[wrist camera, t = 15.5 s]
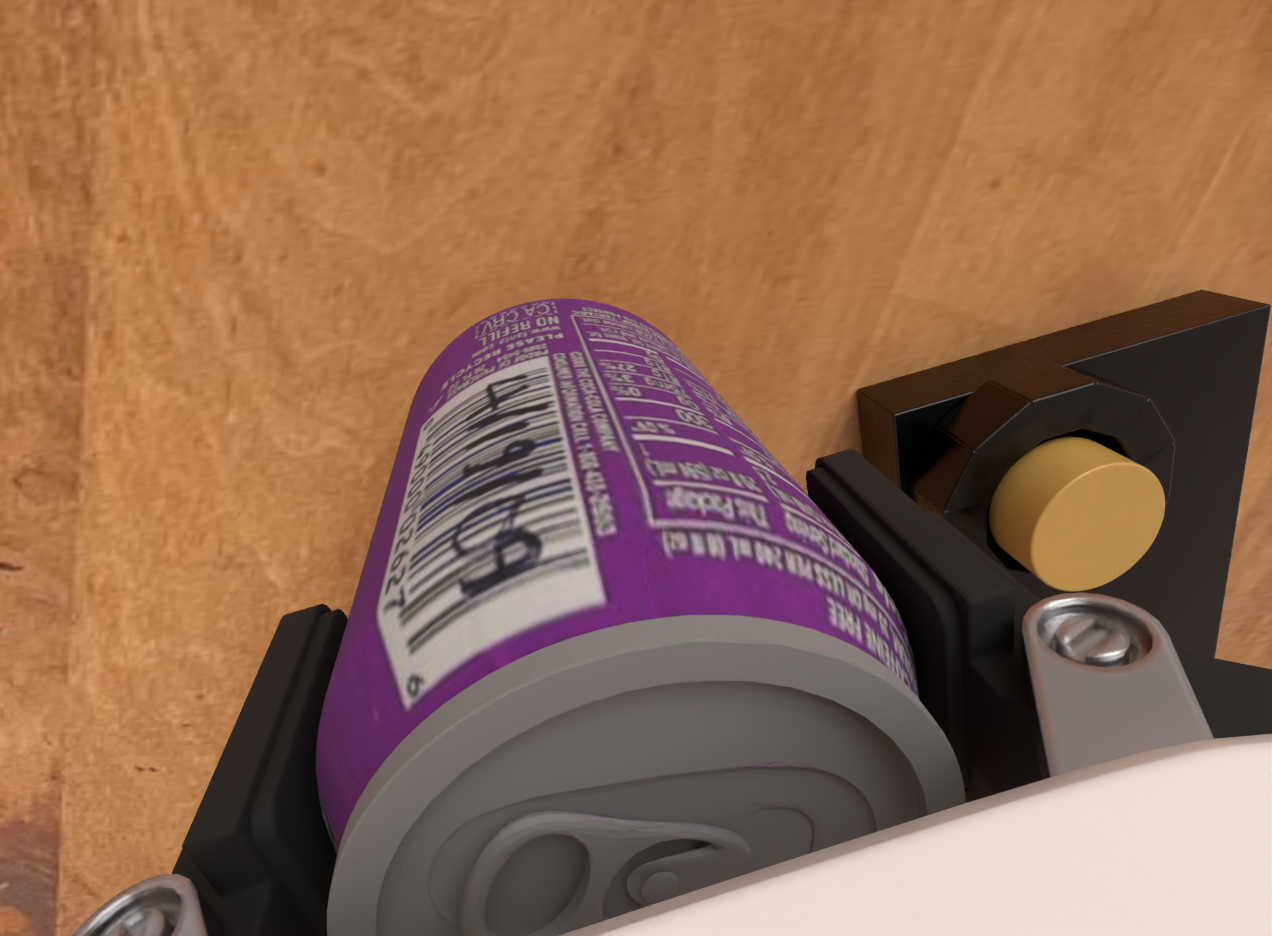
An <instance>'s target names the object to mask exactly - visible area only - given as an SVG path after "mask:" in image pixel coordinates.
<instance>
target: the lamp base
mask: <svg viewBox="0 0 1272 936" xmlns="http://www.w3.org/2000/svg"><path fill="white" fill-rule="evenodd" d="M1270 308H1271V305H1269V304H1265V303H1260V302H1256V301H1251V300H1246V299H1242V298H1237V297H1233V296H1228V295H1223V294H1219V293H1214V292H1210V291H1205V290H1200V291H1196V292H1193V293H1189V294H1186V295H1183V296H1179V297H1176V298H1172V299H1169V300H1165V301H1162V302H1158V303H1155V304H1151V305H1148V306H1144V307H1141V308H1138V309H1134V310H1131V311H1127V312H1124V313H1120V314H1117V315H1113V316H1110V317H1106V318H1103V319H1099V320H1096V321H1093V322H1089V323H1086V324H1082V325H1079V326H1075V327H1072V328H1068V329H1065V330H1061V331H1058V332H1054V333H1051V334H1047V335H1044V336H1041V337H1037V338H1034V339H1030V340H1027V341H1023V342H1020V343H1016V344H1013V345H1009V346H1006V347H1002V348H999V349H996V350H992V351H989V352H985V353H982V354H978V355H975V356H971V357H968V358H964V359H961V360H957V361H954V362H951V363H947V364H944V365H940V366H937V367H933V368H930V369H926V370H923V371H919V372H916V373H912V374H909V375H906V376H902V377H899V378H895V379H892V380H888V381H885V382H881V383H878V384H874V385H871V386H867V387H864V388H861V389H858V390H857V394H858V404H859V414H860V424H861V434H862V444H863V454H864V458H865V459H866V460H867V461H868V462H869V463H870V464H872V465H873V466H874V467H875V468H876V469H877V470H879V471H880V472H881V473H882V474H883V475H884V476H885V477H887V478H888V479H889V480H890V481H891V482H892V483H894V484H895V485H896V486H897V487H898V488H899V489H900V490H902V491H903V492H904V493H905V494H906V495H907V496H909V497H910V498H911V499H912V500H913V501H914V502H915V503H917V504H918V505H919V506H920V507H921V508H922V509H924V510H925V511H926V512H927V511H934V512H936V513H937V514H939V515H941V516H942V517H943V518H944V519H945V520H947V521H948V522H949V523H950V524H951V525H953V526H954V527H955V528H956V529H957V530H958V531H960V532H961V533H962V534H963V535H964V536H966V537H967V538H968V539H969V540H970V541H971V542H973V543H974V544H975V545H976V546H977V547H979V548H980V549H981V550H982V551H983V552H984V553H986V554H987V555H988V556H989V557H990V558H992V559H993V560H994V561H995V562H996V563H997V564H999V565H1000V566H1001V567H1002V568H1003V569H1005V570H1006V571H1007V572H1008V573H1009V574H1010V575H1012V576H1013V577H1014V578H1015V579H1016V580H1017V581H1019V582H1020V583H1021V584H1022V585H1023V586H1025V587H1026V588H1027V589H1028V590H1029V591H1030V592H1032V593H1033V594H1034V595H1035V596H1036V597H1038V598H1039V599H1040V600H1042V599H1045V598H1048V597H1052V596H1055V595H1059V594H1067V593H1080V592H1081V593H1092V594H1102V595H1106V596H1110V597H1114V598H1118V599H1122V600H1125V601H1127V602H1129V603H1131V604H1133V605H1136V606H1138V607H1140V608H1142V609H1144V610H1145V611H1147V612H1148V613H1149V614H1151V615H1152V616H1153V617H1155V618H1156V619H1157V620H1159V622H1160V623H1161V625H1162V626H1163V627H1164V629H1165V630H1166V632H1167V633H1168V635H1169V637H1170V639H1171V642H1172V644H1173V646H1174V648H1175V651H1178V652H1183V653H1188V654H1194V655H1199V656H1204V657H1209V658H1215V652H1216V646H1217V639H1218V633H1219V627H1220V621H1221V614H1222V608H1223V602H1224V596H1225V589H1226V583H1227V577H1228V571H1229V564H1230V558H1231V552H1232V546H1233V539H1234V533H1235V527H1236V521H1237V514H1238V508H1239V502H1240V496H1241V489H1242V483H1243V477H1244V471H1245V464H1246V458H1247V452H1248V446H1249V439H1250V433H1251V427H1252V421H1253V414H1254V408H1255V402H1256V396H1257V389H1258V383H1259V377H1260V371H1261V364H1262V358H1263V352H1264V346H1265V339H1266V333H1267V327H1268V321H1269V314H1270ZM1062 437H1082V438H1087V439H1089V440H1092V441H1094V442H1096V443H1098V444H1100V445H1102V446H1104V447H1106V448H1108V449H1110V450H1112V451H1114V452H1116V453H1118V454H1120V455H1122V456H1124V457H1126V458H1128V459H1130V460H1132V461H1134V462H1136V463H1138V464H1140V465H1142V466H1143V467H1145V468H1147V469H1149V470H1150V471H1151V472H1152V473H1153V474H1154V475H1155V476H1156V477H1157V479H1158V480H1159V482H1160V484H1161V486H1162V488H1163V491H1164V496H1165V512H1164V517H1163V521H1162V524H1161V527H1160V529H1159V532H1158V534H1157V536H1156V538H1155V539H1154V541H1153V543H1152V544H1151V546H1150V547H1149V549H1148V550H1147V551H1146V552H1145V554H1144V555H1143V556H1142V557H1141V558H1140V559H1139V560H1138V561H1137V562H1136V563H1135V564H1134V565H1133V566H1132V567H1131V568H1130V569H1129V570H1127V571H1126V572H1125V573H1123V574H1122V575H1120V576H1119V577H1117V578H1116V579H1114V580H1112V581H1110V582H1108V583H1106V584H1104V585H1102V586H1099V587H1096V588H1093V589H1089V590H1084V591H1063V590H1059V589H1055V588H1053V587H1051V586H1048V585H1047V584H1045V583H1044V582H1043V581H1041V580H1040V579H1039V578H1038V577H1036V576H1035V575H1034V574H1033V573H1031V572H1030V571H1029V570H1028V569H1026V568H1025V567H1024V566H1023V565H1022V564H1020V563H1019V562H1018V561H1017V560H1015V559H1014V558H1013V557H1012V556H1010V555H1009V554H1008V553H1007V552H1005V551H1004V550H1003V549H1002V548H1001V547H1000V546H999V545H998V544H997V542H996V541H995V539H994V537H993V535H992V533H991V529H990V525H989V509H990V504H991V500H992V497H993V495H994V494H995V492H996V490H997V488H998V486H999V484H1000V482H1001V480H1002V478H1003V476H1004V475H1005V473H1006V472H1007V471H1008V469H1009V468H1010V467H1011V466H1012V465H1014V464H1015V463H1016V462H1017V461H1018V460H1019V459H1021V458H1022V457H1023V456H1024V455H1025V454H1027V453H1028V452H1029V451H1030V450H1031V449H1033V448H1035V447H1036V446H1038V445H1040V444H1042V443H1045V442H1047V441H1050V440H1053V439H1057V438H1062Z"/></svg>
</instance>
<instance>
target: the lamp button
mask: <svg viewBox="0 0 1272 936" xmlns="http://www.w3.org/2000/svg"><path fill="white" fill-rule="evenodd" d="M1164 512H1165V496H1164V491H1163V488H1162V486H1161V484H1160V482H1159V480H1158V479H1157V477H1156V476H1155V475H1154V474H1153V473H1152V472H1151V471H1150V470H1149V469H1147V468H1145V467H1143V466H1142V465H1140V464H1138V463H1136V462H1134V461H1132V460H1130V459H1128V458H1126V457H1124V456H1122V455H1120V454H1118V453H1116V452H1114V451H1112V450H1110V449H1108V448H1106V447H1104V446H1102V445H1100V444H1098V443H1096V442H1094V441H1092V440H1089V439H1087V438H1082V437H1062V438H1057V439H1053V440H1050V441H1047V442H1045V443H1042V444H1040V445H1038V446H1036V447H1035V448H1033V449H1031V450H1030V451H1029V452H1028V453H1027V454H1025V455H1024V456H1023V457H1022V458H1021V459H1019V460H1018V461H1017V462H1016V463H1015V464H1014V465H1012V466H1011V467H1010V468H1009V469H1008V471H1007V472H1006V473H1005V475H1004V476H1003V478H1002V480H1001V482H1000V484H999V486H998V488H997V490H996V492H995V494H994V495H993V497H992V500H991V504H990V509H989V525H990V529H991V533H992V535H993V537H994V539H995V541H996V542H997V544H998V545H999V546H1000V547H1001V548H1002V549H1003V550H1004V551H1005V552H1007V553H1008V554H1009V555H1010V556H1012V557H1013V558H1014V559H1015V560H1017V561H1018V562H1019V563H1020V564H1022V565H1023V566H1024V567H1025V568H1026V569H1028V570H1029V571H1030V572H1031V573H1033V574H1034V575H1035V576H1036V577H1038V578H1039V579H1040V580H1041V581H1043V582H1044V583H1045V584H1047V585H1048V586H1051V587H1053V588H1055V589H1059V590H1063V591H1084V590H1089V589H1093V588H1096V587H1099V586H1102V585H1104V584H1106V583H1108V582H1110V581H1112V580H1114V579H1116V578H1117V577H1119V576H1120V575H1122V574H1123V573H1125V572H1126V571H1127V570H1129V569H1130V568H1131V567H1132V566H1133V565H1134V564H1135V563H1136V562H1137V561H1138V560H1139V559H1140V558H1141V557H1142V556H1143V555H1144V554H1145V552H1146V551H1147V550H1148V549H1149V547H1150V546H1151V544H1152V543H1153V541H1154V539H1155V538H1156V536H1157V534H1158V532H1159V529H1160V527H1161V524H1162V521H1163V517H1164Z"/></svg>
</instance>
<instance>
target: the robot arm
mask: <svg viewBox="0 0 1272 936" xmlns="http://www.w3.org/2000/svg"><path fill="white" fill-rule="evenodd" d="M806 482H807V489H808V496H809V498H810V499H811V500H812V501H813V502H814V503H815V505H816V506H817V507H818V508H819V509H820V510H821V511H822V513H823V514H824V515H825V516H826V517H827V518H828V519H829V521H830V522H831V523H832V524H833V525H834V526H835V527H836V528H837V530H838V531H839V532H840V533H841V534H842V535H843V536H844V538H845V539H846V540H847V541H848V542H849V543H850V544H851V546H852V547H853V548H854V549H855V550H856V551H857V552H858V554H859V555H860V556H861V557H862V558H863V559H864V561H865V562H866V563H867V564H868V565H869V567H870V568H871V569H872V570H873V571H874V573H875V574H876V576H877V577H878V579H879V580H880V582H881V583H882V585H883V586H884V588H885V589H886V591H887V592H888V594H889V595H890V597H891V598H892V600H893V602H894V604H895V606H896V608H897V610H898V612H899V614H900V616H901V618H902V621H903V623H904V626H905V628H906V631H907V634H908V638H909V641H910V645H911V648H912V652H913V656H914V662H915V668H916V675H917V684H918V693H919V700H920V701H921V703H922V704H923V705H924V707H925V708H926V709H927V711H928V712H929V713H930V714H931V716H932V717H933V718H934V720H935V721H936V723H937V724H938V725H939V727H940V728H941V730H942V731H943V732H944V734H945V736H946V738H947V740H948V741H949V743H950V745H951V747H952V749H953V751H954V754H955V756H956V759H957V761H958V764H959V767H960V771H961V775H962V778H963V784H964V790H965V800H966V803H965V804H961V805H958V806H955V807H952V808H949V809H946V810H943V811H940V812H937V813H934V814H930V815H927V816H924V817H921V818H918V819H915V820H912V821H909V822H906V823H902V824H899V825H896V826H893V827H890V828H887V829H884V830H881V831H878V832H875V833H871V834H868V835H865V836H862V837H859V838H856V839H853V840H850V841H847V842H844V843H840V844H837V845H834V846H831V847H828V848H825V849H822V850H819V851H816V852H813V853H809V854H806V855H803V856H800V857H797V858H794V859H791V860H788V861H785V862H781V863H778V864H775V865H772V866H769V867H766V868H763V869H760V870H757V871H754V872H751V873H748V874H745V875H742V876H738V877H735V878H732V879H729V880H726V881H723V882H720V883H717V884H714V885H711V886H708V887H705V888H702V889H699V890H696V891H693V892H690V893H687V894H684V895H680V896H677V897H674V898H671V899H668V900H665V901H662V902H659V903H656V904H653V905H650V906H647V907H644V908H641V909H638V910H635V911H632V912H629V913H626V914H623V915H620V916H617V917H614V918H610V919H607V920H604V921H601V922H598V923H595V924H592V925H589V926H586V927H583V928H580V929H577V930H574V931H571V932H568V933H565V934H562V935H559V936H1272V669H1266V668H1261V667H1256V666H1251V665H1246V664H1240V663H1235V662H1230V661H1225V660H1220V659H1214V658H1209V657H1204V656H1199V655H1194V654H1188V653H1183V652H1178V651H1175V648H1174V646H1173V644H1172V642H1171V639H1170V637H1169V635H1168V633H1167V632H1166V630H1165V629H1164V627H1163V626H1162V625H1161V623H1160V622H1159V620H1157V619H1156V618H1155V617H1153V616H1152V615H1151V614H1149V613H1148V612H1147V611H1145V610H1144V609H1142V608H1140V607H1138V606H1136V605H1133V604H1131V603H1129V602H1127V601H1125V600H1122V599H1118V598H1114V597H1110V596H1106V595H1102V594H1092V593H1081V592H1080V593H1067V594H1059V595H1055V596H1052V597H1048V598H1045V599H1042V600H1040V599H1039V598H1038V597H1036V596H1035V595H1034V594H1033V593H1032V592H1030V591H1029V590H1028V589H1027V588H1026V587H1025V586H1023V585H1022V584H1021V583H1020V582H1019V581H1017V580H1016V579H1015V578H1014V577H1013V576H1012V575H1010V574H1009V573H1008V572H1007V571H1006V570H1005V569H1003V568H1002V567H1001V566H1000V565H999V564H997V563H996V562H995V561H994V560H993V559H992V558H990V557H989V556H988V555H987V554H986V553H984V552H983V551H982V550H981V549H980V548H979V547H977V546H976V545H975V544H974V543H973V542H971V541H970V540H969V539H968V538H967V537H966V536H964V535H963V534H962V533H961V532H960V531H958V530H957V529H956V528H955V527H954V526H953V525H951V524H950V523H949V522H948V521H947V520H945V519H944V518H943V517H942V516H941V515H939V514H937V513H936V512H934V511H927V512H926V511H925V510H924V509H922V508H921V507H920V506H919V505H918V504H917V503H915V502H914V501H913V500H912V499H911V498H910V497H909V496H907V495H906V494H905V493H904V492H903V491H902V490H900V489H899V488H898V487H897V486H896V485H895V484H894V483H892V482H891V481H890V480H889V479H888V478H887V477H885V476H884V475H883V474H882V473H881V472H880V471H879V470H877V469H876V468H875V467H874V466H873V465H872V464H870V463H869V462H868V461H867V460H866V459H865V458H864V457H862V456H861V455H860V454H859V453H858V452H857V451H855V450H854V449H848V450H845V451H842V452H838V453H835V454H831V455H828V456H824V457H821V458H818V459H817V460H816V463H815V469H812V470H809V471H807V473H806ZM347 621H348V619H347V617H346V615H345V614H344V612H343V611H342V610H340V609H337V610H333V611H331V609H330V608H329V607H328V606H327V605H324V604H320V605H317V606H313V607H310V608H307V609H303V610H300V611H296V612H293V613H290V614H287V615H284V616H283V617H282V619H281V621H280V623H279V625H278V627H277V630H276V632H275V634H274V637H273V639H272V641H271V644H270V646H269V648H268V650H267V653H266V655H265V657H264V660H263V662H262V664H261V666H260V669H259V671H258V673H257V676H256V678H255V680H254V682H253V685H252V687H251V689H250V692H249V694H248V696H247V698H246V701H245V703H244V705H243V708H242V710H241V712H240V715H239V717H238V719H237V721H236V724H235V726H234V728H233V731H232V733H231V735H230V737H229V740H228V742H227V744H226V747H225V749H224V751H223V753H222V756H221V758H220V760H219V763H218V765H217V767H216V769H215V772H214V774H213V776H212V779H211V781H210V783H209V786H208V788H207V790H206V792H205V795H204V797H203V799H202V802H201V804H200V806H199V808H198V811H197V813H196V815H195V818H194V820H193V822H192V824H191V827H190V829H189V831H188V834H187V836H186V838H185V840H184V843H183V845H182V847H183V849H182V851H181V853H180V856H179V858H178V860H177V863H176V865H175V867H174V869H173V872H172V874H164V875H159V876H155V877H152V878H149V879H146V880H143V881H141V882H139V883H137V884H135V885H133V886H131V887H130V888H128V889H126V890H124V891H122V892H121V893H119V894H118V895H116V896H115V897H114V898H112V899H111V900H110V901H108V902H107V903H106V904H104V905H103V906H102V907H100V908H99V909H98V910H97V911H96V912H95V913H94V914H93V915H91V916H90V917H89V918H88V919H87V920H86V921H85V922H84V923H83V924H82V925H81V926H80V927H79V928H78V929H77V931H76V932H75V933H74V934H73V936H328V935H327V907H328V900H329V892H330V887H331V882H332V878H333V873H334V868H335V864H336V859H337V854H336V852H335V849H334V846H333V844H332V841H331V838H330V836H329V833H328V830H327V827H326V824H325V821H324V818H323V814H322V810H321V805H320V801H319V794H318V786H317V777H316V746H317V736H318V728H319V723H320V719H321V714H322V709H323V704H324V700H325V696H326V693H327V689H328V686H329V682H330V679H331V676H332V672H333V669H334V665H335V662H336V659H337V655H338V652H339V648H340V645H341V642H342V638H343V635H344V631H345V628H346V625H347Z"/></svg>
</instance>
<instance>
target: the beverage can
mask: <svg viewBox="0 0 1272 936" xmlns="http://www.w3.org/2000/svg"><path fill="white" fill-rule="evenodd" d="M316 777H317V786H318V794H319V801H320V805H321V810H322V814H323V818H324V821H325V824H326V827H327V830H328V833H329V836H330V838H331V841H332V844H333V846H334V849H335V852H336V854H337V859H336V864H335V868H334V873H333V878H332V882H331V887H330V892H329V900H328V907H327V935H328V936H559V935H562V934H565V933H568V932H571V931H574V930H577V929H580V928H583V927H586V926H589V925H592V924H595V923H598V922H601V921H604V920H607V919H610V918H614V917H617V916H620V915H623V914H626V913H629V912H632V911H635V910H638V909H641V908H644V907H647V906H650V905H653V904H656V903H659V902H662V901H665V900H668V899H671V898H674V897H677V896H680V895H684V894H687V893H690V892H693V891H696V890H699V889H702V888H705V887H708V886H711V885H714V884H717V883H720V882H723V881H726V880H729V879H732V878H735V877H738V876H742V875H745V874H748V873H751V872H754V871H757V870H760V869H763V868H766V867H769V866H772V865H775V864H778V863H781V862H785V861H788V860H791V859H794V858H797V857H800V856H803V855H806V854H809V853H813V852H816V851H819V850H822V849H825V848H828V847H831V846H834V845H837V844H840V843H844V842H847V841H850V840H853V839H856V838H859V837H862V836H865V835H868V834H871V833H875V832H878V831H881V830H884V829H887V828H890V827H893V826H896V825H899V824H902V823H906V822H909V821H912V820H915V819H918V818H921V817H924V816H927V815H930V814H934V813H937V812H940V811H943V810H946V809H949V808H952V807H955V806H958V805H961V804H965V803H966V800H965V790H964V784H963V778H962V775H961V771H960V767H959V764H958V761H957V759H956V756H955V754H954V751H953V749H952V747H951V745H950V743H949V741H948V740H947V738H946V736H945V734H944V732H943V731H942V730H941V728H940V727H939V725H938V724H937V723H936V721H935V720H934V718H933V717H932V716H931V714H930V713H929V712H928V711H927V709H926V708H925V707H924V705H923V704H922V703H921V701H920V700H919V693H918V684H917V675H916V668H915V662H914V656H913V652H912V648H911V645H910V641H909V638H908V634H907V631H906V628H905V626H904V623H903V621H902V618H901V616H900V614H899V612H898V610H897V608H896V606H895V604H894V602H893V600H892V598H891V597H890V595H889V594H888V592H887V591H886V589H885V588H884V586H883V585H882V583H881V582H880V580H879V579H878V577H877V576H876V574H875V573H874V571H873V570H872V569H871V568H870V567H869V565H868V564H867V563H866V562H865V561H864V559H863V558H862V557H861V556H860V555H859V554H858V552H857V551H856V550H855V549H854V548H853V547H852V546H851V544H850V543H849V542H848V541H847V540H846V539H845V538H844V536H843V535H842V534H841V533H840V532H839V531H838V530H837V528H836V527H835V526H834V525H833V524H832V523H831V522H830V521H829V519H828V518H827V517H826V516H825V515H824V514H823V513H822V511H821V510H820V509H819V508H818V507H817V506H816V505H815V503H814V502H813V501H812V500H811V499H810V498H809V497H808V495H807V494H806V493H805V492H804V491H803V490H802V489H801V487H800V486H799V485H798V484H797V483H796V482H795V481H794V479H793V478H792V477H791V476H790V475H789V474H788V473H787V471H786V470H785V469H784V468H783V467H782V466H781V465H780V463H779V462H778V461H777V460H776V459H775V458H774V457H773V455H772V454H771V453H770V452H769V451H768V450H767V449H766V447H765V446H764V445H763V444H762V443H761V442H760V441H759V439H758V438H757V437H756V436H755V435H754V434H753V433H752V431H751V430H750V429H749V428H748V427H747V426H746V425H745V424H744V422H743V421H742V420H741V419H740V418H739V417H738V416H737V414H736V413H735V412H734V411H733V410H732V409H731V408H730V406H729V405H728V404H727V403H726V402H725V401H724V400H723V398H722V397H721V396H720V395H719V394H718V393H717V392H716V390H715V389H714V388H713V387H712V386H711V385H710V384H709V382H708V381H707V380H706V379H705V378H704V377H703V376H702V374H701V373H700V372H699V371H698V370H697V369H696V368H695V366H694V365H693V364H692V363H691V362H690V361H689V360H688V358H687V357H686V356H685V355H684V354H683V353H682V352H681V350H680V349H679V348H678V347H677V346H676V345H675V344H674V343H673V342H672V341H671V340H670V339H669V338H668V337H667V336H665V335H664V334H663V333H662V332H661V331H660V330H658V329H657V328H655V327H654V326H653V325H651V324H650V323H648V322H646V321H645V320H643V319H641V318H640V317H638V316H636V315H633V314H631V313H629V312H627V311H625V310H622V309H619V308H617V307H614V306H610V305H607V304H604V303H599V302H594V301H588V300H581V299H547V300H538V301H533V302H528V303H524V304H520V305H516V306H513V307H510V308H507V309H504V310H502V311H499V312H497V313H495V314H493V315H490V316H488V317H487V318H485V319H483V320H481V321H479V322H477V323H476V324H474V325H473V326H471V327H470V328H468V329H467V330H466V331H464V332H463V333H462V334H460V335H459V336H458V337H457V338H456V339H454V340H453V341H452V342H451V343H450V344H449V345H448V346H447V347H446V348H445V349H444V350H443V351H442V352H441V354H440V355H439V356H438V357H437V358H436V360H435V361H434V362H433V363H432V365H431V366H430V368H429V369H428V371H427V372H426V374H425V375H424V377H423V379H422V381H421V383H420V385H419V387H418V389H417V391H416V394H415V396H414V399H413V402H412V405H411V408H410V411H409V414H408V418H407V421H406V425H405V428H404V431H403V435H402V438H401V442H400V445H399V448H398V452H397V455H396V459H395V462H394V465H393V469H392V472H391V475H390V479H389V482H388V486H387V489H386V492H385V496H384V499H383V503H382V506H381V509H380V513H379V516H378V520H377V523H376V526H375V530H374V533H373V537H372V540H371V543H370V547H369V550H368V553H367V557H366V560H365V564H364V567H363V570H362V574H361V577H360V581H359V584H358V587H357V591H356V594H355V598H354V601H353V604H352V608H351V611H350V615H349V618H348V621H347V625H346V628H345V631H344V635H343V638H342V642H341V645H340V648H339V652H338V655H337V659H336V662H335V665H334V669H333V672H332V676H331V679H330V682H329V686H328V689H327V693H326V696H325V700H324V704H323V709H322V714H321V719H320V723H319V728H318V736H317V746H316Z"/></svg>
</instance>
